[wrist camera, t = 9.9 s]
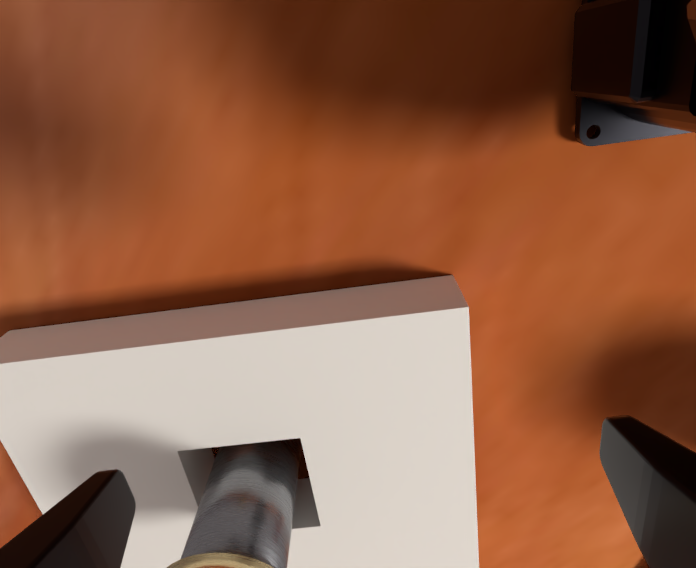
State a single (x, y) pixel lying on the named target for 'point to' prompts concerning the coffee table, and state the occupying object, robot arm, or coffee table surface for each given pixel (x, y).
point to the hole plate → (264, 417)
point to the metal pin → (246, 508)
